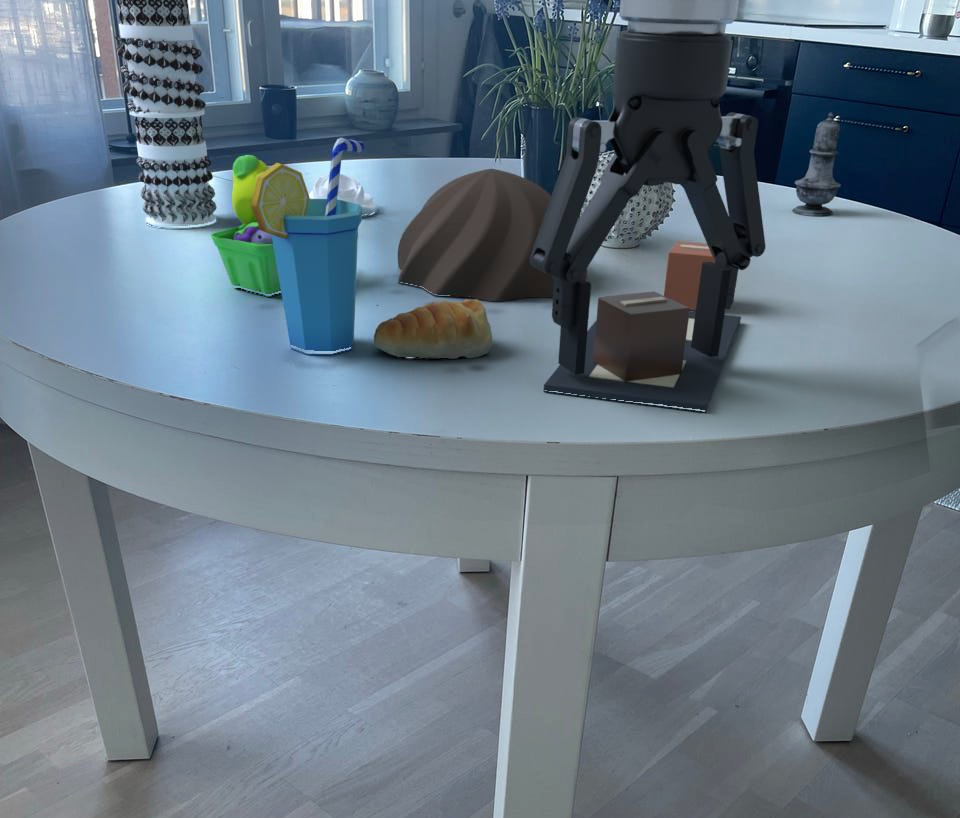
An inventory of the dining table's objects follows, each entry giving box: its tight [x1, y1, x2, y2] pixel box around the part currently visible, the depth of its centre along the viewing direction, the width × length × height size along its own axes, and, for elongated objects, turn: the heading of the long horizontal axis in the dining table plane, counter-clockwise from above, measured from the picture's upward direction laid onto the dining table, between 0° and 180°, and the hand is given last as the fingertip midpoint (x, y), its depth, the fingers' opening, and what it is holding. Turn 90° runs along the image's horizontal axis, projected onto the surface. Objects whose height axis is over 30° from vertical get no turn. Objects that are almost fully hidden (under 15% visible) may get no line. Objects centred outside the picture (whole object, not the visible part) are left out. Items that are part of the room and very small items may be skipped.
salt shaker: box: [791, 111, 841, 217], centre depth 133 cm, size 6×6×12 cm
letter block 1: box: [593, 291, 691, 381], centre depth 77 cm, size 5×5×5 cm
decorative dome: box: [397, 168, 588, 303], centre depth 101 cm, size 19×20×10 cm
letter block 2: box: [663, 240, 715, 312], centre depth 95 cm, size 5×5×5 cm
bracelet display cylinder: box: [114, 0, 218, 230], centre depth 116 cm, size 9×9×25 cm
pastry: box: [373, 298, 494, 360], centre depth 82 cm, size 9×7×4 cm
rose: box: [308, 173, 379, 218], centre depth 129 cm, size 10×4×10 cm
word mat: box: [543, 310, 742, 414], centre depth 83 cm, size 24×12×1 cm, turn 162°
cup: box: [251, 137, 365, 356], centre depth 80 cm, size 14×8×15 cm, turn 158°
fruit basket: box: [210, 154, 282, 298], centre depth 97 cm, size 11×9×11 cm
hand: (639, 360), depth 78 cm, fingers open, 11 cm apart
